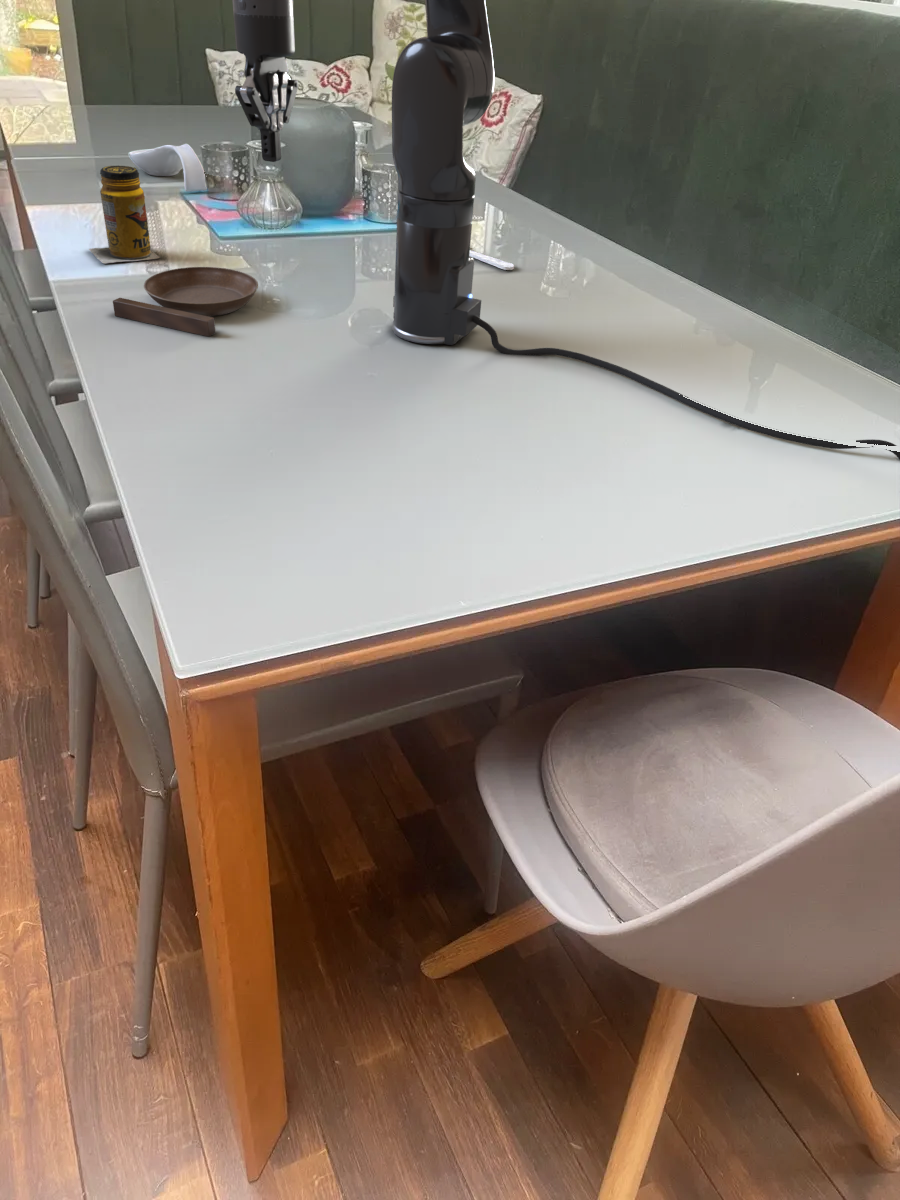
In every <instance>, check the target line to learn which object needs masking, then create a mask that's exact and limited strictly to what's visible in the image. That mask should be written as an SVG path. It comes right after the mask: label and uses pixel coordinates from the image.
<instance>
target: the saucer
mask: <svg viewBox="0 0 900 1200" xmlns="http://www.w3.org/2000/svg"><path fill="white" fill-rule="evenodd" d="M258 288H259V282H258V281H257V279H256V278H255V277H253V276H252V275H250V274H248V273H245V272H243V271H239V270H236V269H231V268H224V267H218V266H215V267H214V266H189V267H179V268H173V269H168V270H165V271H161V272H158V273H156V274H153V275H151V276H149V277H148V278H147V279H145V281H144V283H143V289H144V291H145V292H146V293H147V295H148V296H149V297H150V298H151V299H152V300H153V301H155V303H157V304H158V306H161V307H166V308H171V309H175V310H180V311H185V312H189V313H194V314H198V315H203V316H208V317H216V316H223V315H228V314H231V313H234V312H236V311H238V310H240V309H241V308H243V307H244V306H245V305H246V304H248V302H249V301H251V299H252V298H253V297H254V295H255V294H256V292H257V290H258Z"/></svg>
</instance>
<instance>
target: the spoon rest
mask: <svg viewBox="0 0 900 1200" xmlns="http://www.w3.org/2000/svg"><path fill="white" fill-rule="evenodd" d="M127 155H128V157H129V159H130V160H131V162H132V163H133V164H134V165H135V166H136V167H137V168H139V169H140V170H142V171H143V172H145V173H146V174H148V175H150V176H156V177H173V176H176V175H178V174H179V172H181V171H182V172H183V184H184V191H185V192H187V193H192V192H202V191H203V192H204V191H208V190H207V187H205V174H206V173H205V174H204V172H205V169H204V167H203V165H202V163H201V160H200V159H199V157H198V155H197V154H196V152H195V150H194V149H193V147H191V145H189V144H188V143H183V144H181V145H173V144H166V145H162V146H157V147H153V148H149V149H148V148H147V149H137V150H131V151H129V152H128V154H127Z"/></svg>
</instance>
